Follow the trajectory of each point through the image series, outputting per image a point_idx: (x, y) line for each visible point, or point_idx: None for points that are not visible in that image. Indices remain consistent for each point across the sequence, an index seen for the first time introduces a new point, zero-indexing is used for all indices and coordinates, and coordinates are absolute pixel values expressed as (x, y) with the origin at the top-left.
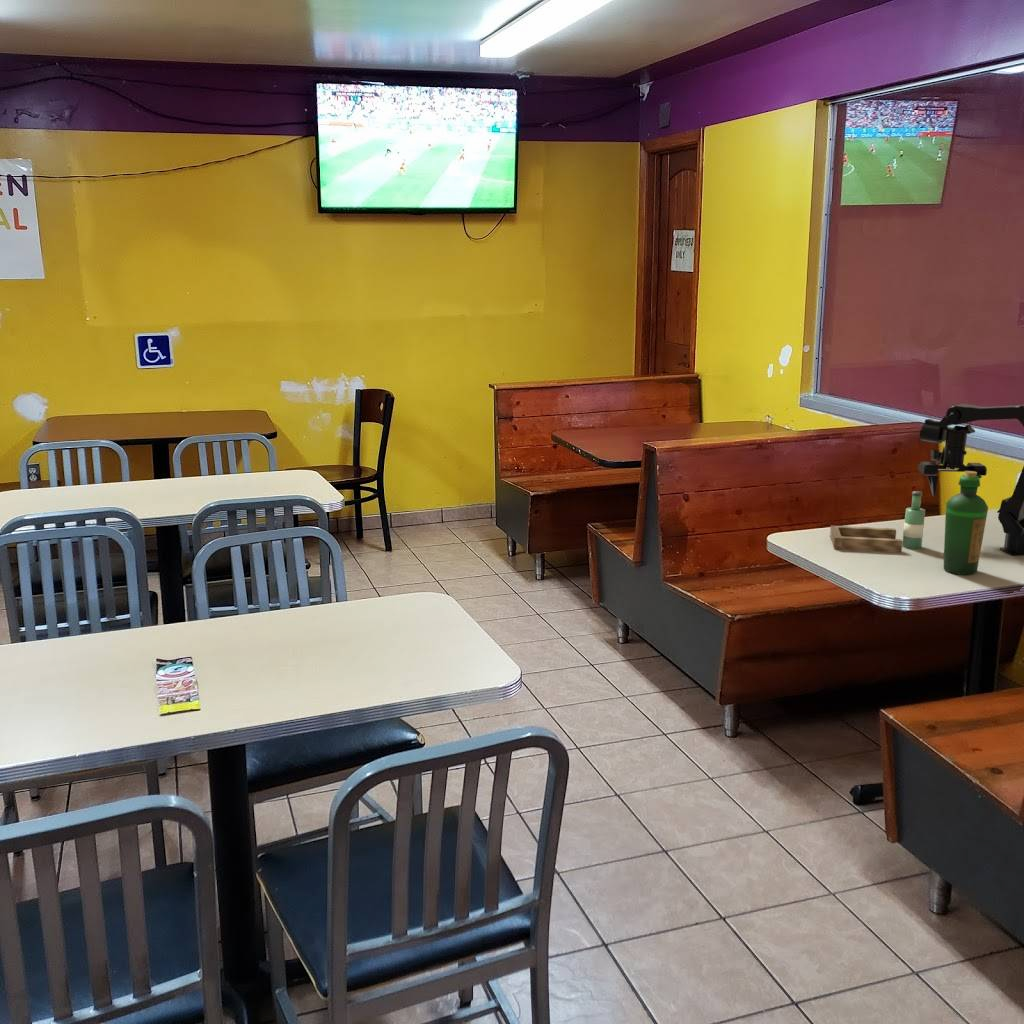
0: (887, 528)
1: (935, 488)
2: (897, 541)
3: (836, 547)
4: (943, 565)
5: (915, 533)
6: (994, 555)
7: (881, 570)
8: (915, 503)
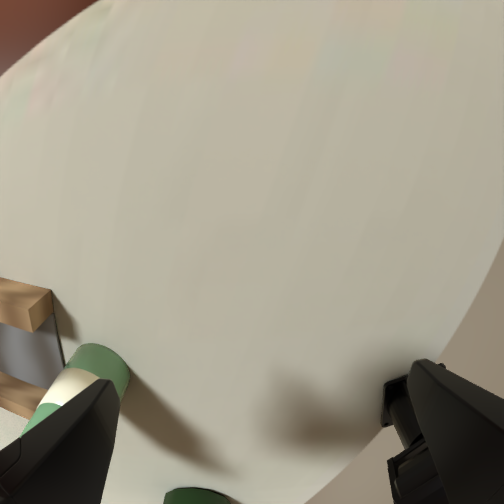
0: (6, 306)
1: (96, 483)
2: None
3: None
4: (165, 495)
5: None
6: (335, 429)
7: None
8: None
